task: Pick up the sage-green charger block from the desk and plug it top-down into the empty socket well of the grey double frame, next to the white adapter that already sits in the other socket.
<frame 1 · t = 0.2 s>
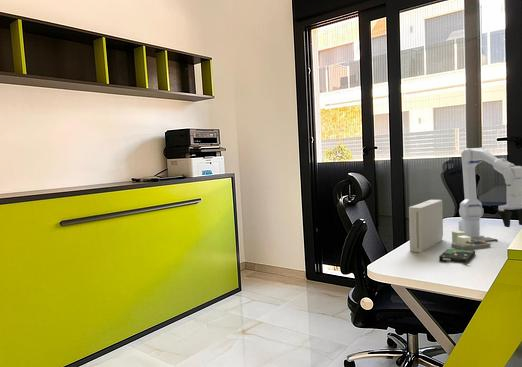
hand: (514, 225, 171), 10 cm above the table, tool pointing down, fingers open, 7 cm apart
grey double frame: (470, 248, 177), on the table
phone: (483, 241, 187), on the table
game console: (426, 246, 185), on the table
charger: (458, 244, 184), on the table
adapter: (463, 247, 176), resting in grey double frame
disk drive: (457, 260, 162), on the table
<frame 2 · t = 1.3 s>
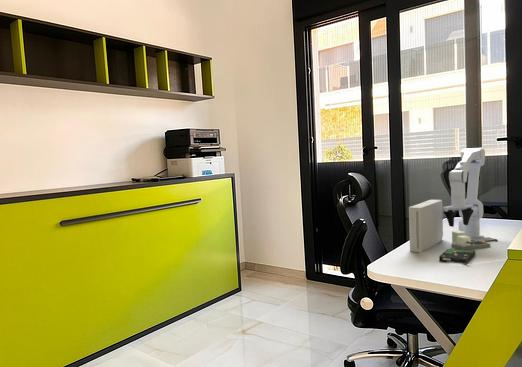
hand: (458, 225, 184), 9 cm above the table, tool pointing down, fingers open, 7 cm apart
nothing on the table moved.
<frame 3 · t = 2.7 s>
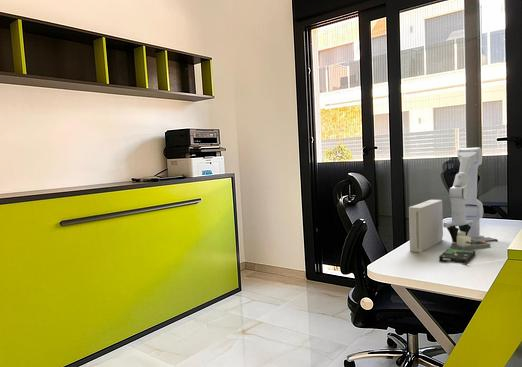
hand: (458, 241, 184), 1 cm above the table, tool pointing down, fingers closed on charger, 4 cm apart
charger: (458, 244, 184), on the table, touching gripper
everything else where it was.
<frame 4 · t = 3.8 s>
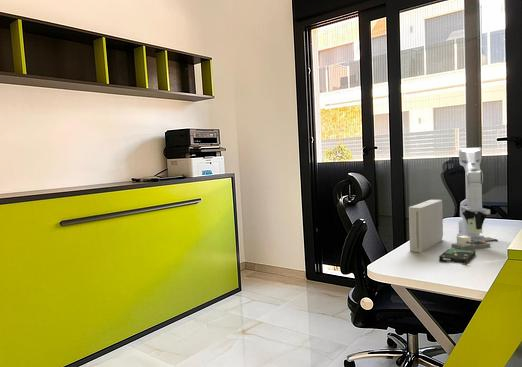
hand: (474, 228, 178), 8 cm above the table, tool pointing down, fingers closed on charger, 4 cm apart
charger: (475, 232, 178), point 7 cm above the table, touching gripper
everything else where it was.
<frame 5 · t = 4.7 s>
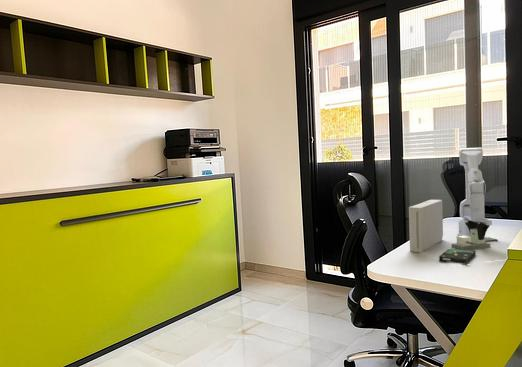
hand: (477, 238, 177), 4 cm above the table, tool pointing down, fingers closed on charger, 4 cm apart
charger: (477, 242, 178), point 2 cm above the table, touching gripper
everything else where it was.
when the fingers open (3 cm above the table, at t = 5.4 s): charger stays where it is, resting on grey double frame.
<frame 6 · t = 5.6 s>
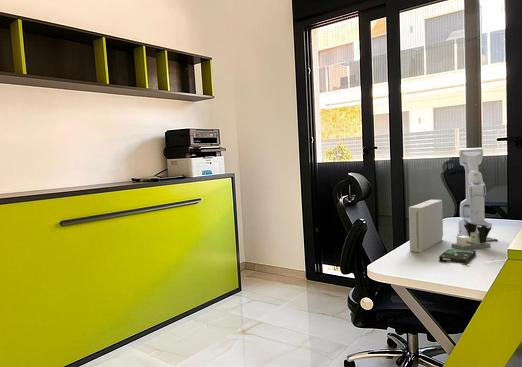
hand: (477, 241, 178), 3 cm above the table, tool pointing down, fingers open, 6 cm apart
charger: (477, 246, 178), resting on grey double frame
everything else where it was.
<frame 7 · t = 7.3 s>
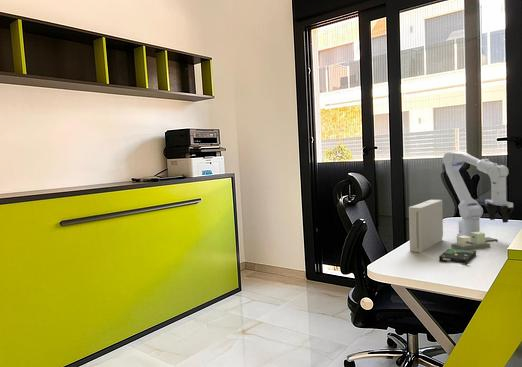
hand: (498, 221, 184), 10 cm above the table, tool pointing down, fingers open, 7 cm apart
nothing on the table moved.
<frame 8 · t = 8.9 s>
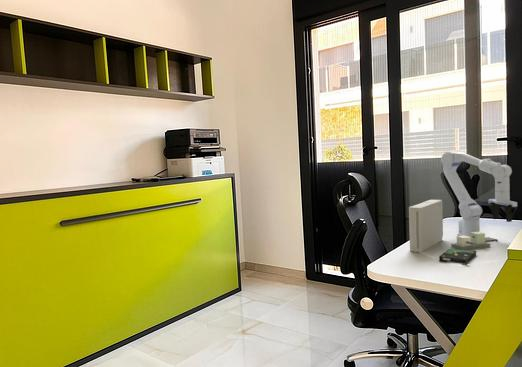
hand: (502, 220, 185), 10 cm above the table, tool pointing down, fingers open, 7 cm apart
nothing on the table moved.
at the end: charger 0.1 cm from the target spot on the grey double frame, point 0.5 cm above the grey double frame's base; charger tilted 0°; the gripper is holding nothing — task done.
